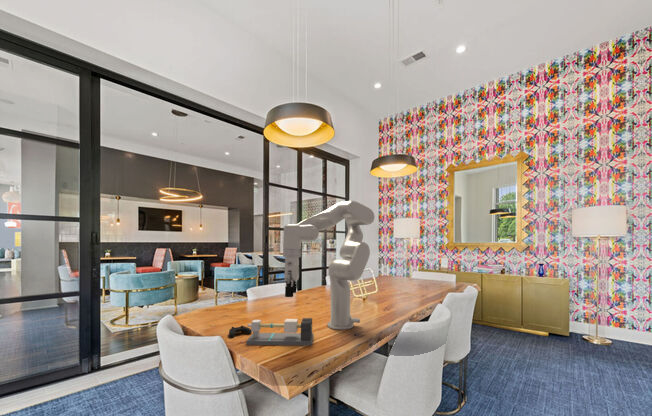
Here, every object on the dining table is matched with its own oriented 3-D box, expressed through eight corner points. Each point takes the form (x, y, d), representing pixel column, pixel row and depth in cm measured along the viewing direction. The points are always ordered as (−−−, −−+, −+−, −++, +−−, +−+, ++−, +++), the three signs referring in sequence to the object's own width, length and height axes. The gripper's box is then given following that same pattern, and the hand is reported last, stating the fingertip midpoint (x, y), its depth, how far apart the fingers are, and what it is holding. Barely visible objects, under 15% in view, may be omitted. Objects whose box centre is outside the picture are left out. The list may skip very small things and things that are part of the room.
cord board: (313, 336, 123) (313, 317, 124) (311, 345, 113) (311, 324, 114) (250, 336, 124) (251, 316, 125) (243, 344, 114) (244, 323, 115)
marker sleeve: (297, 329, 121) (297, 319, 121) (296, 332, 117) (296, 321, 117) (285, 329, 121) (285, 319, 121) (284, 332, 117) (284, 321, 117)
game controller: (231, 337, 121) (228, 324, 125) (227, 344, 124) (225, 331, 127) (252, 332, 127) (249, 320, 131) (249, 339, 129) (246, 327, 133)
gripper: (298, 254, 114) (297, 298, 112) (302, 252, 131) (302, 291, 129) (279, 254, 114) (277, 298, 112) (286, 252, 131) (285, 291, 129)
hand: (290, 294), depth 121 cm, fingers open, 9 cm apart
